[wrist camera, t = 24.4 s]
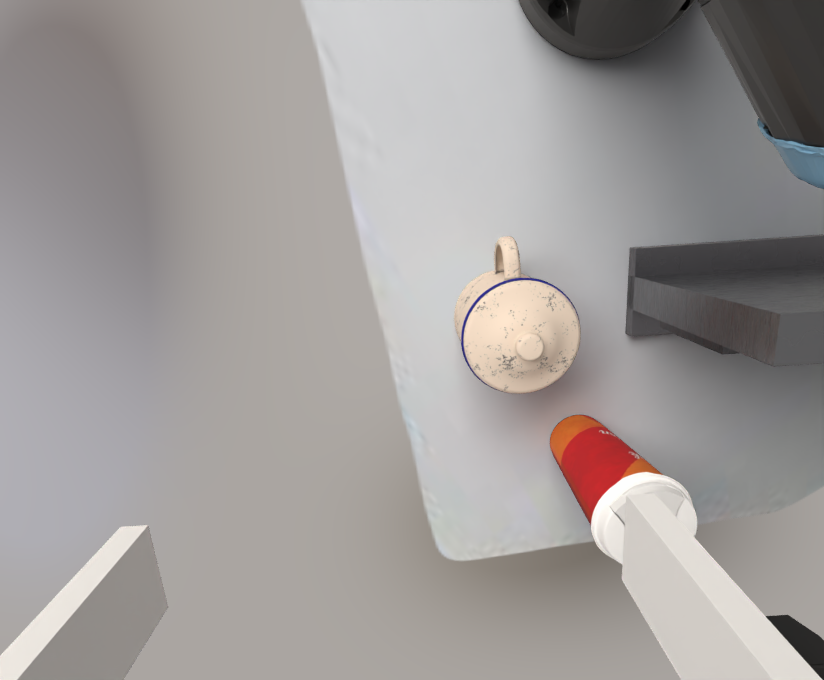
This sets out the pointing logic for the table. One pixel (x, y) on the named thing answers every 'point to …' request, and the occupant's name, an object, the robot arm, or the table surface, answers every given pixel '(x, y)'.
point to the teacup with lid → (516, 326)
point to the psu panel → (733, 296)
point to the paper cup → (611, 480)
